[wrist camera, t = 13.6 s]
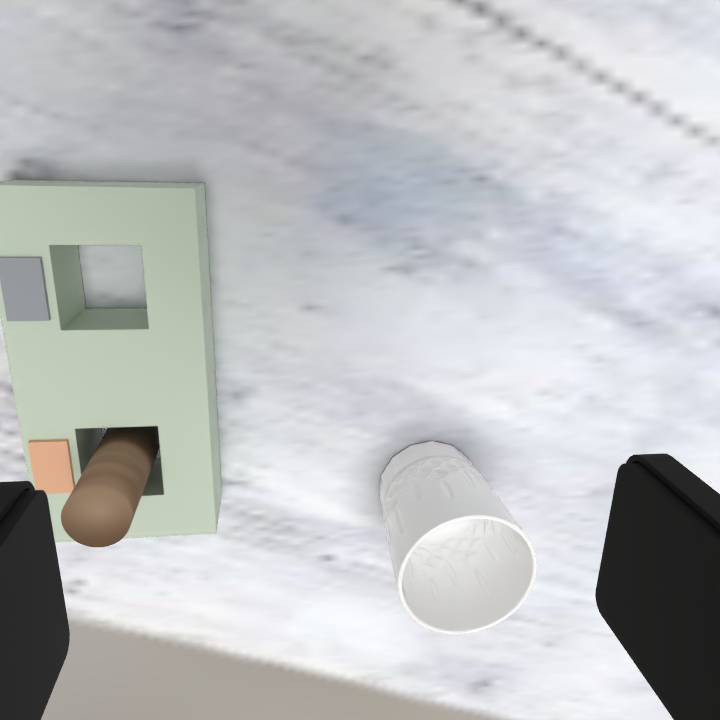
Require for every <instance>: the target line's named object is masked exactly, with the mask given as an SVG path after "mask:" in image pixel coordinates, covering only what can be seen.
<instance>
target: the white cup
mask: <svg viewBox="0 0 720 720" xmlns="http://www.w3.org/2000/svg"><path fill="white" fill-rule="evenodd" d="M379 496H380V500H381V505H382V509H383V519H384V526H385V530H386V537H387V542H388V547H389V552H390V556H391V561H392V566H393V570H394V575H395V580H396V585H397V589H398V594H399V598H400V601H401V604H402V606H403V608H404V609H405V611H406V612H407V614H408V615H409V616H410V617H411V618H412V619H413V620H414V621H415V622H417V623H418V624H420V625H421V626H423V627H425V628H427V629H429V630H431V631H434V632H438V633H442V634H450V635H463V634H470V633H475V632H479V631H482V630H485V629H488V628H490V627H493V626H495V625H497V624H498V623H500V622H502V621H503V620H505V619H506V618H508V617H509V616H510V615H512V614H513V613H514V612H515V611H516V610H517V609H518V608H519V607H520V606H521V605H522V604H523V602H524V601H525V600H526V598H527V597H528V595H529V593H530V592H531V590H532V587H533V585H534V582H535V579H536V574H537V557H536V552H535V549H534V547H533V544H532V542H531V541H530V539H529V538H528V536H527V535H526V534H525V532H524V531H523V530H522V528H521V527H520V526H519V524H518V523H517V522H516V520H515V519H514V517H513V516H512V515H511V513H510V512H509V511H508V509H507V508H506V507H505V505H504V504H503V502H502V501H501V500H500V498H499V497H498V496H497V494H496V493H495V492H494V491H493V489H492V488H491V487H490V486H489V485H488V483H487V482H486V480H485V479H484V478H483V477H482V475H481V474H480V473H479V472H478V471H477V470H476V469H475V468H474V466H473V465H472V464H471V462H470V461H469V459H468V458H467V457H466V456H464V455H463V454H462V453H461V452H460V451H458V450H457V449H456V448H455V447H454V446H452V445H448V444H443V443H439V442H434V441H430V442H425V443H420V444H415V445H410V446H409V447H407V448H406V449H404V450H403V451H401V452H400V453H398V454H397V455H395V456H394V457H393V458H392V459H391V461H390V462H389V464H388V465H387V467H386V469H385V470H384V472H383V473H382V475H381V483H380V493H379Z"/></svg>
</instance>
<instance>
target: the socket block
mask: <svg viewBox="0 0 720 720" xmlns="http://www.w3.org/2000/svg"><path fill="white" fill-rule="evenodd" d="M78 245H141V248H142V259H143V269H144V280H145V291H146V302H147V308H97V309H86V306H85V298H84V290H83V282H82V274H81V266H80V258H79V250H78ZM0 317H1V322H2V328H3V334H4V340H5V345H6V351H7V357H8V363H9V368H10V374H11V380H12V386H13V392H14V397H15V403H16V409H17V415H18V420H19V426H20V432H21V438H22V443H23V449H24V455H25V461H26V467H27V472H28V478H29V481H30V482H31V483H32V484H33V486H34V488H35V490H44V491H45V493H46V494H47V498H48V503H49V509H50V515H51V521H52V527H53V533H54V539H55V542H69V541H75V540H73V539H72V538H71V537H70V536H69V535H68V534H67V533H66V532H65V530H64V528H63V526H62V522H61V512H62V509H63V506H64V505H65V503H66V501H67V499H68V498H69V496H70V494H71V492H72V491H73V489H74V487H75V485H76V484H77V482H78V480H79V479H80V477H81V475H82V473H83V472H84V470H85V468H86V466H87V465H88V463H89V461H90V459H91V458H92V456H93V454H94V452H95V451H96V449H97V447H98V445H99V444H100V442H101V440H102V433H101V428H111V427H141V426H158V432H159V443H160V454H161V458H160V459H155V461H154V464H153V466H152V469H151V472H150V474H149V477H148V480H147V483H146V485H145V488H144V491H143V493H142V496H141V499H140V501H139V504H138V507H137V510H136V512H135V515H134V518H133V520H132V523H131V526H130V528H129V531H128V532H127V534H126V535H125V536H124V537H123V538H141V537H159V536H177V535H195V534H213V533H216V531H217V524H218V517H219V511H220V504H221V497H222V483H221V465H220V448H219V430H218V412H217V394H216V377H215V359H214V341H213V324H212V306H211V288H210V271H209V253H208V235H207V217H206V200H205V183H173V182H115V181H58V180H10V181H3V182H0ZM123 538H122V539H123Z"/></svg>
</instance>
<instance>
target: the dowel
mask: <svg viewBox="0 0 720 720" xmlns="http://www.w3.org/2000/svg"><path fill="white" fill-rule="evenodd" d="M159 447H160V443H159V432H158V426H141V427H111V428H108V430H107V431H106V433H105V435H104V437H103V438H102V440H101V442H100V444H99V445H98V447H97V449H96V451H95V452H94V454H93V456H92V458H91V459H90V461H89V463H88V465H87V466H86V468H85V470H84V472H83V473H82V475H81V477H80V479H79V480H78V482H77V484H76V485H75V487H74V489H73V491H72V492H71V494H70V496H69V498H68V499H67V501H66V503H65V505H64V506H63V509H62V512H61V522H62V526H63V528H64V530H65V532H66V533H67V534H68V535H69V536H70V537H71V538H72V539H73V540H75V541H76V542H78V543H80V544H83V545H86V546H90V547H105V546H109V545H112V544H115V543H117V542H118V541H120V540H121V539H122V538H123V537H124V536H125V535H126V534H127V532H128V531H129V528H130V526H131V523H132V520H133V518H134V515H135V512H136V510H137V507H138V504H139V501H140V499H141V496H142V493H143V491H144V488H145V485H146V483H147V480H148V477H149V474H150V472H151V469H152V466H153V464H154V461H155V458H156V456H157V453H158V450H159Z"/></svg>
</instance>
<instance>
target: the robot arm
mask: <svg viewBox="0 0 720 720" xmlns="http://www.w3.org/2000/svg"><path fill="white" fill-rule="evenodd" d="M596 602H597V606H598V609H599V612H600V613H601V615H602V617H603V618H604V620H605V621H606V623H607V624H608V625H609V627H610V628H611V630H612V631H613V633H614V634H615V635H616V637H617V638H618V640H619V641H620V643H621V644H622V646H623V647H624V648H625V650H626V651H627V653H628V654H629V656H630V657H631V659H632V660H633V661H634V663H635V664H636V666H637V667H638V669H639V670H640V671H641V673H642V674H643V676H644V677H645V679H646V680H647V682H648V683H649V684H650V686H651V687H652V689H653V690H654V692H655V693H656V695H657V696H658V697H659V699H660V700H661V702H662V703H663V705H664V706H665V708H666V709H667V710H668V712H669V713H670V715H671V716H672V718H673V719H674V720H720V494H719V493H718V492H716V491H715V490H714V489H712V488H711V487H710V486H709V485H707V484H706V483H705V482H704V481H702V480H701V479H700V478H698V477H697V476H696V475H695V474H693V473H692V472H691V471H690V470H688V469H687V468H686V467H684V466H683V465H682V464H681V463H679V462H678V461H677V460H676V459H674V458H673V457H672V456H670V455H668V454H642V455H633V456H631V457H629V459H628V460H627V462H626V464H622V465H621V466H620V467H619V469H618V473H617V478H616V483H615V489H614V494H613V500H612V505H611V510H610V516H609V521H608V527H607V532H606V538H605V543H604V549H603V554H602V560H601V565H600V570H599V576H598V581H597V587H596ZM69 636H70V634H69V625H68V619H67V613H66V607H65V601H64V594H63V588H62V582H61V576H60V570H59V564H58V558H57V552H56V546H55V539H54V533H53V527H52V521H51V515H50V509H49V503H48V498H47V494H46V493H45V491H44V490H35V488H34V486H33V484H32V483H31V482H30V481H15V482H0V720H41V717H42V715H43V712H44V710H45V708H46V705H47V703H48V700H49V698H50V695H51V693H52V690H53V688H54V685H55V683H56V680H57V678H58V675H59V673H60V670H61V668H62V666H63V663H64V661H65V658H66V655H67V651H68V647H69Z"/></svg>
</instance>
